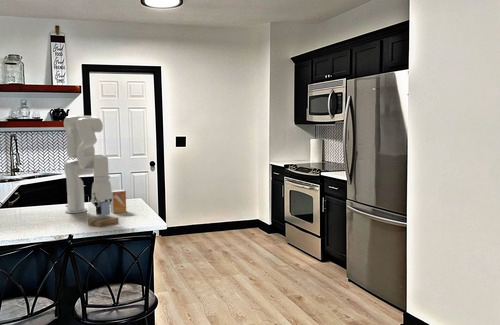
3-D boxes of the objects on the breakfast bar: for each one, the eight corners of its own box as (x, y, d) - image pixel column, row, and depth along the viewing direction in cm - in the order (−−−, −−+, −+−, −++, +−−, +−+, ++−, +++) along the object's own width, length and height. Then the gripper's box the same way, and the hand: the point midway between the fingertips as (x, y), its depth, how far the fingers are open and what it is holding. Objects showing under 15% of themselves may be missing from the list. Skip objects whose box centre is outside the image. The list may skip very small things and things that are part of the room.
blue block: (96, 215, 247) (95, 202, 246) (103, 213, 251) (103, 200, 250) (102, 216, 244) (101, 203, 244) (110, 214, 248) (109, 201, 248)
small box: (113, 213, 276) (112, 191, 275) (110, 211, 281) (109, 190, 280) (126, 211, 281) (125, 190, 279) (123, 210, 286) (122, 189, 285)
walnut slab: (88, 224, 247) (88, 219, 246) (104, 220, 256) (104, 215, 255) (101, 227, 241) (101, 221, 240) (118, 223, 250) (118, 217, 250)
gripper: (109, 177, 255) (110, 209, 257) (83, 180, 241) (85, 215, 243) (118, 177, 251) (120, 210, 253) (92, 181, 237) (94, 216, 238)
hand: (103, 212), depth 248 cm, fingers closed on blue block, 5 cm apart
